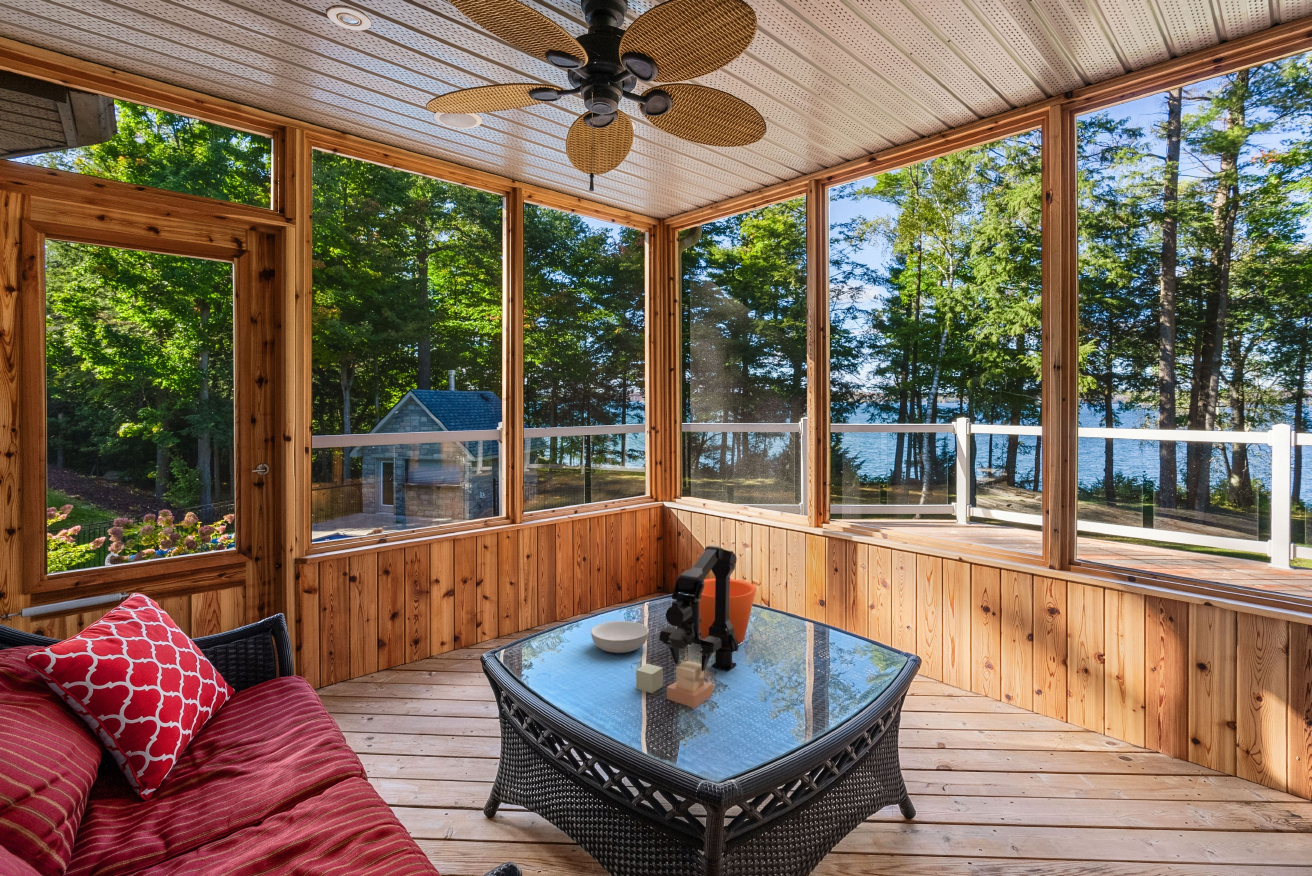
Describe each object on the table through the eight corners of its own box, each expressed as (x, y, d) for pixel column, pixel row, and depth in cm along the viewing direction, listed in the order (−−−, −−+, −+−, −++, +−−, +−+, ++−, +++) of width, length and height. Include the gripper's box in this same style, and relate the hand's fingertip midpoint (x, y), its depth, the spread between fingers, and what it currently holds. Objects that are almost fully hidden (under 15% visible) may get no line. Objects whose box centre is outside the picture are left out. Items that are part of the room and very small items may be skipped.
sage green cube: (647, 681, 207) (647, 663, 206) (662, 686, 203) (662, 667, 203) (636, 688, 202) (636, 669, 201) (652, 693, 198) (652, 674, 198)
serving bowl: (659, 645, 238) (659, 626, 238) (626, 664, 221) (626, 644, 220) (613, 634, 249) (613, 616, 249) (579, 651, 232) (579, 632, 231)
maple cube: (686, 679, 200) (686, 660, 199) (703, 684, 196) (703, 665, 196) (676, 686, 195) (676, 667, 194) (693, 691, 191) (693, 671, 191)
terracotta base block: (685, 688, 203) (685, 675, 203) (712, 696, 197) (712, 684, 197) (666, 699, 195) (666, 686, 195) (694, 709, 189) (694, 695, 189)
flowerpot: (691, 626, 258) (691, 577, 257) (755, 629, 254) (755, 579, 253) (686, 650, 233) (686, 595, 232) (756, 653, 229) (756, 598, 228)
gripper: (649, 618, 193) (649, 669, 194) (704, 629, 182) (703, 684, 183) (668, 608, 202) (668, 657, 203) (722, 619, 192) (722, 670, 193)
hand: (689, 667), depth 195 cm, fingers open, 9 cm apart
